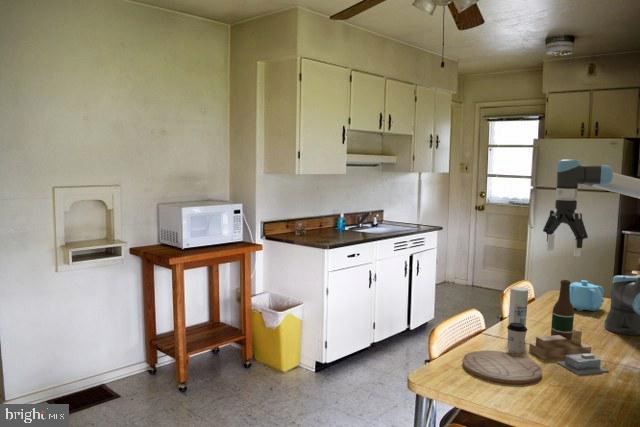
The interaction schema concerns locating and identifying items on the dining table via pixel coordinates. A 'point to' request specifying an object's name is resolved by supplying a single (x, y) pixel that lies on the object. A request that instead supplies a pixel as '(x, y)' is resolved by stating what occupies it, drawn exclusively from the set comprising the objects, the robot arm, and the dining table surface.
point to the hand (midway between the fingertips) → (563, 253)
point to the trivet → (502, 367)
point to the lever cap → (582, 361)
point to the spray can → (518, 305)
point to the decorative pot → (586, 296)
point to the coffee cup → (516, 337)
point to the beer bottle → (563, 313)
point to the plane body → (559, 346)
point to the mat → (583, 370)
